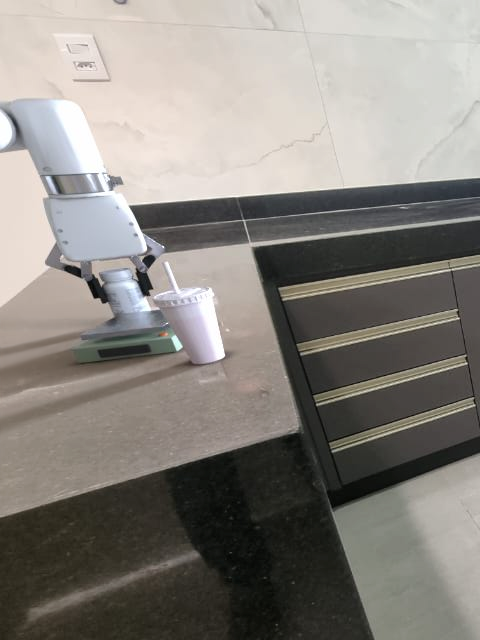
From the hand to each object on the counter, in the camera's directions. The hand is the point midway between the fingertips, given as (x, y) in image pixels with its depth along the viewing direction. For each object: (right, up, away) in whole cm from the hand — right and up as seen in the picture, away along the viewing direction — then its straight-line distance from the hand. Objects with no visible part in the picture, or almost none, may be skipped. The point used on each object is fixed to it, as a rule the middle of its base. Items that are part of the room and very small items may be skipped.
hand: (125, 297), depth 90 cm
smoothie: (+27, -11, -15) cm, 32 cm away
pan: (+12, -5, -10) cm, 16 cm away
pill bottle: (0, -4, +2) cm, 4 cm away
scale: (+12, -8, -8) cm, 17 cm away
